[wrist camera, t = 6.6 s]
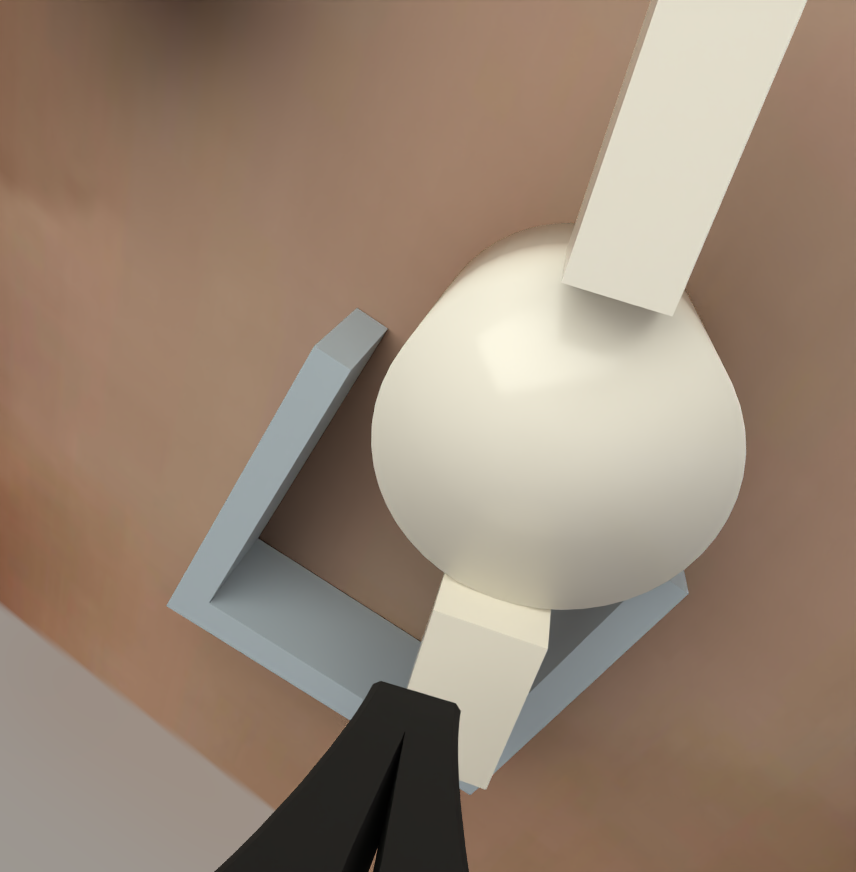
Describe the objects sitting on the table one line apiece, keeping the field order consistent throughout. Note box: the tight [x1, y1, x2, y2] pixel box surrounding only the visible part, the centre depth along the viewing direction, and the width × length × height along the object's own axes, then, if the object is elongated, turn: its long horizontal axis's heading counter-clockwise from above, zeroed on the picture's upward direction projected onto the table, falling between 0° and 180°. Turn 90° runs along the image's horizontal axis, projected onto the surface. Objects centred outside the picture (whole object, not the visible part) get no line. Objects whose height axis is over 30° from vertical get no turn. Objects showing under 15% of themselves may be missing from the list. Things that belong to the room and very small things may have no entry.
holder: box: [167, 308, 689, 795], centre depth 21 cm, size 11×10×3 cm
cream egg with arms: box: [371, 0, 807, 790], centre depth 16 cm, size 17×7×7 cm, turn 166°
